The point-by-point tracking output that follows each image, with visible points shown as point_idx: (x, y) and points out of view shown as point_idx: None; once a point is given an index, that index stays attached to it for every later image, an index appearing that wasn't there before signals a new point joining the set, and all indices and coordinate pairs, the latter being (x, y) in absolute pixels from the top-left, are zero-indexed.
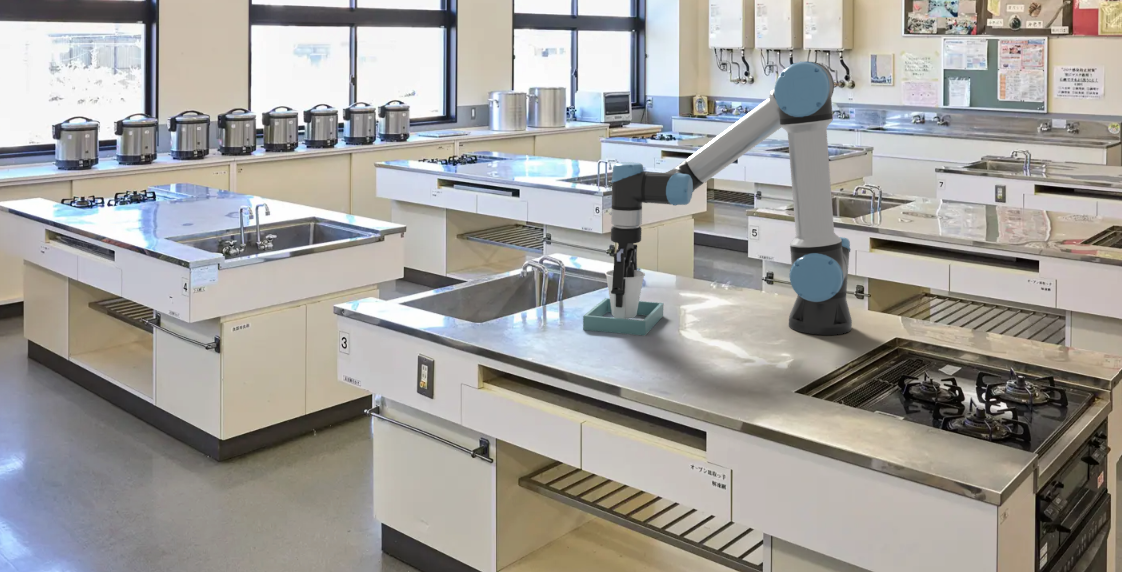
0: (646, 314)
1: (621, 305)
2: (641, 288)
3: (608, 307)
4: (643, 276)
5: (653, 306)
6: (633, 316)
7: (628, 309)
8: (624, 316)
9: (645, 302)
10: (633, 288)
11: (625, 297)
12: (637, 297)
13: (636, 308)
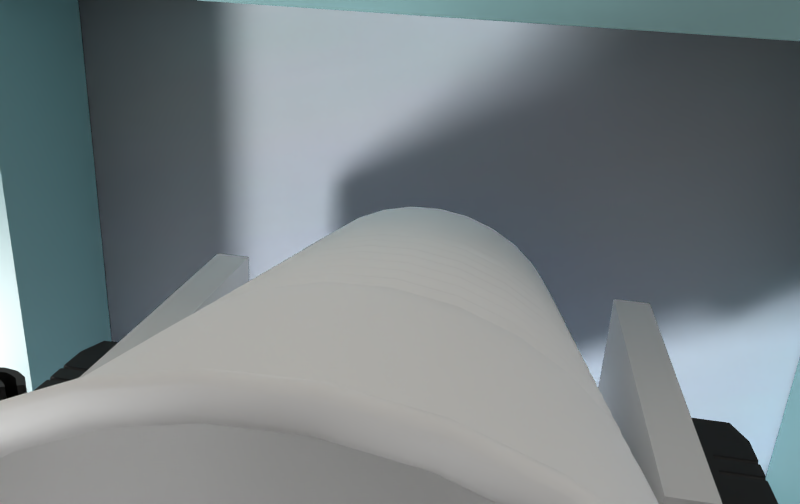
0: (86, 128)
1: (732, 439)
2: (326, 284)
3: None
4: (348, 389)
5: (15, 66)
6: (491, 229)
7: (562, 320)
8: (656, 324)
9: (4, 173)
10: (617, 438)
11: (680, 461)
12: (475, 279)
13: (453, 231)
